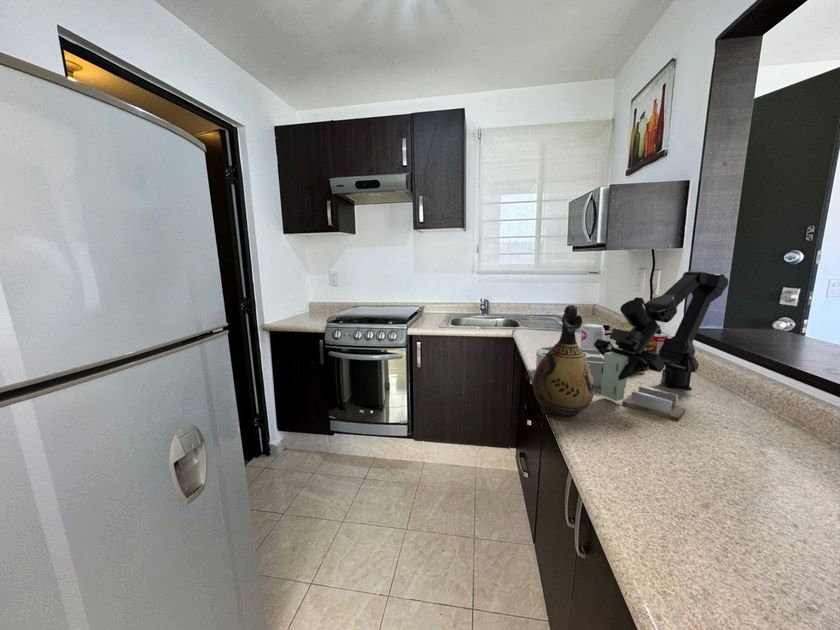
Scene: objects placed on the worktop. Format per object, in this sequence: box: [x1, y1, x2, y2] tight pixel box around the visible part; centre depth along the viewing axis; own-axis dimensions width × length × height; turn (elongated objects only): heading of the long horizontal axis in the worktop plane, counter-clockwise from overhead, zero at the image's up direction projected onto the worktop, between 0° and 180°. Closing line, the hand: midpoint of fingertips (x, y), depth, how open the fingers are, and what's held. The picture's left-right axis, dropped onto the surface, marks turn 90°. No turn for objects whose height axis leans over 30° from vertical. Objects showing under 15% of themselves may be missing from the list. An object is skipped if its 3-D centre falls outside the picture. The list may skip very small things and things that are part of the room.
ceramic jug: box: [532, 304, 595, 421], centre depth 88 cm, size 17×15×30 cm
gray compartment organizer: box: [535, 346, 628, 390], centre depth 116 cm, size 17×28×9 cm, turn 69°
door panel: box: [600, 352, 628, 401], centre depth 95 cm, size 3×5×13 cm, turn 21°
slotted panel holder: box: [621, 385, 687, 422], centre depth 91 cm, size 13×8×4 cm, turn 40°
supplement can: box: [579, 323, 606, 350], centre depth 132 cm, size 8×8×15 cm
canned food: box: [646, 332, 668, 355], centre depth 129 cm, size 8×8×12 cm
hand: (610, 376), depth 95 cm, fingers closed on door panel, 5 cm apart
